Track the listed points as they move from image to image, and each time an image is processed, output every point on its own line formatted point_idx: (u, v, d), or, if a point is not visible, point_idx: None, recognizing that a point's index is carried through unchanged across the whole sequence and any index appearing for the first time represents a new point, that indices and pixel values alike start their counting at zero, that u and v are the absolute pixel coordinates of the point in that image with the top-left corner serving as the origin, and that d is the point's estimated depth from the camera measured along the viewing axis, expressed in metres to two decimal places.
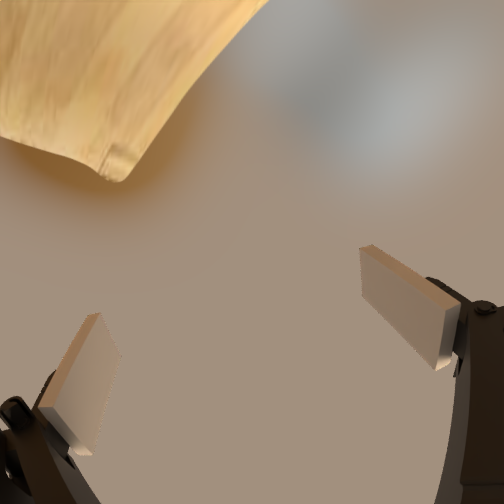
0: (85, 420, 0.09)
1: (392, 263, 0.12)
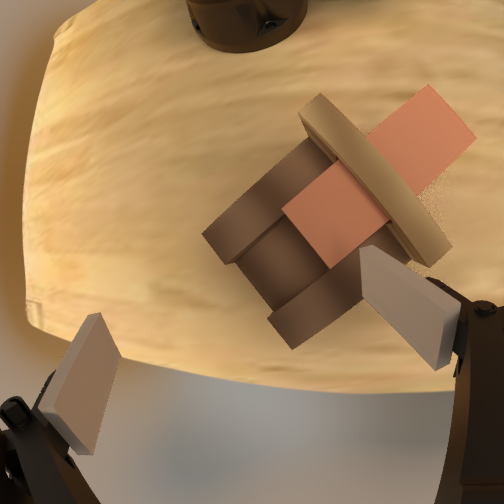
0: (85, 420, 0.09)
1: (392, 263, 0.12)
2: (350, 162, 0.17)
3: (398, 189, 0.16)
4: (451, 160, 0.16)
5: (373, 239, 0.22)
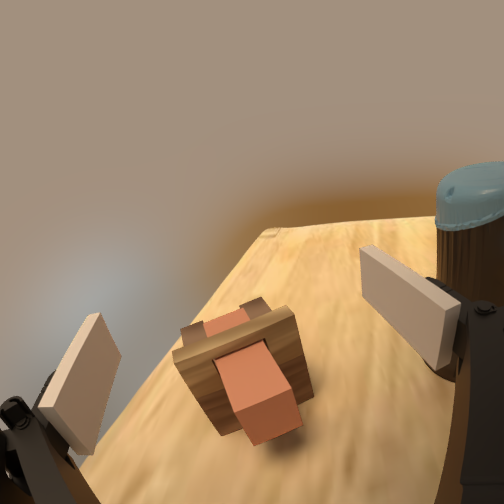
0: (85, 420, 0.09)
1: (392, 263, 0.12)
2: (245, 323, 0.30)
3: (219, 341, 0.28)
4: (226, 388, 0.25)
5: (216, 368, 0.33)
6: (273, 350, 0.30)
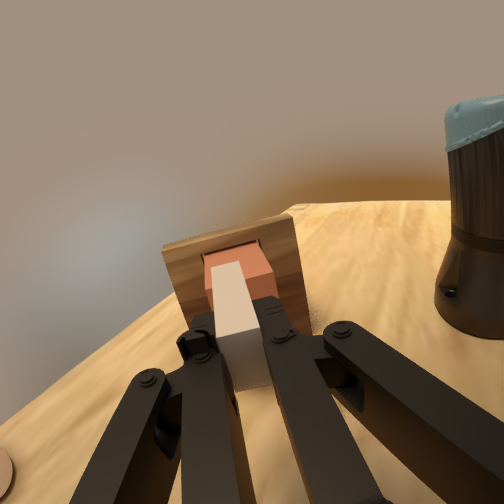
0: None
1: (236, 280, 0.14)
2: (241, 224, 0.30)
3: (211, 236, 0.28)
4: (206, 273, 0.24)
5: None
6: (267, 257, 0.29)
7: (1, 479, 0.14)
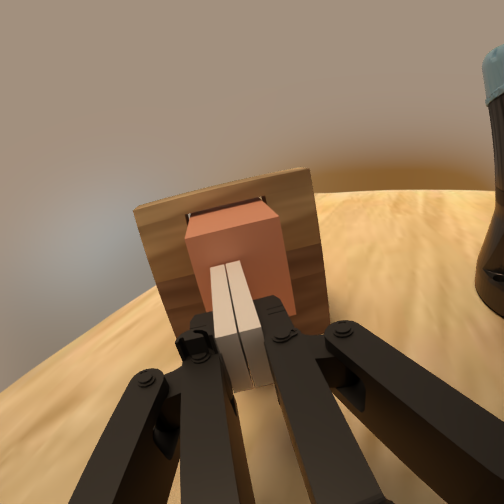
0: (244, 354, 0.12)
1: (237, 280, 0.14)
2: (241, 179, 0.22)
3: (200, 191, 0.21)
4: (189, 225, 0.18)
5: None
6: None
7: None
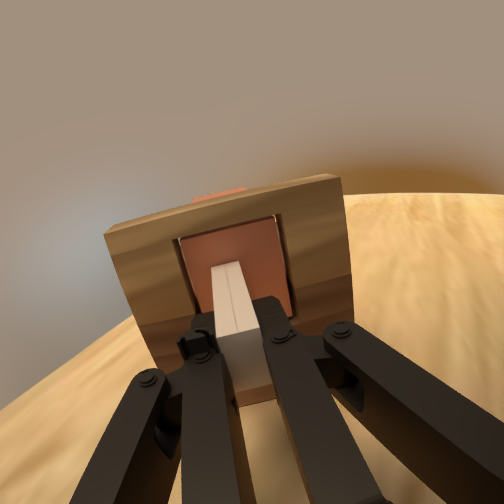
0: None
1: (236, 280, 0.14)
2: None
3: (192, 207, 0.15)
4: None
5: (192, 288, 0.20)
6: (294, 248, 0.16)
7: None
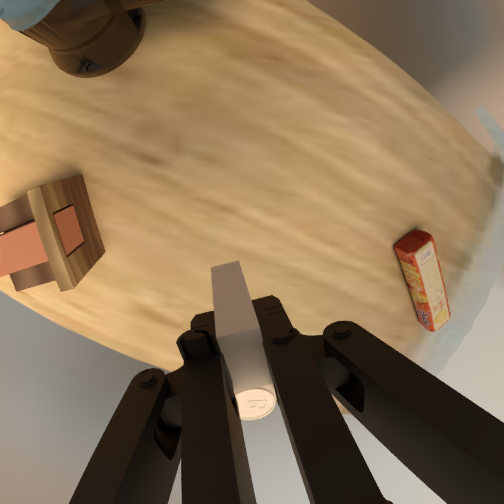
0: None
1: (236, 280, 0.14)
2: (39, 229, 0.28)
3: (55, 251, 0.30)
4: None
5: None
6: (58, 206, 0.31)
7: None
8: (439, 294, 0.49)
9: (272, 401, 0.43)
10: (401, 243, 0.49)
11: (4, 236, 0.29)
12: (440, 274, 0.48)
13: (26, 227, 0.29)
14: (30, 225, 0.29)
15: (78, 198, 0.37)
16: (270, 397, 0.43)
